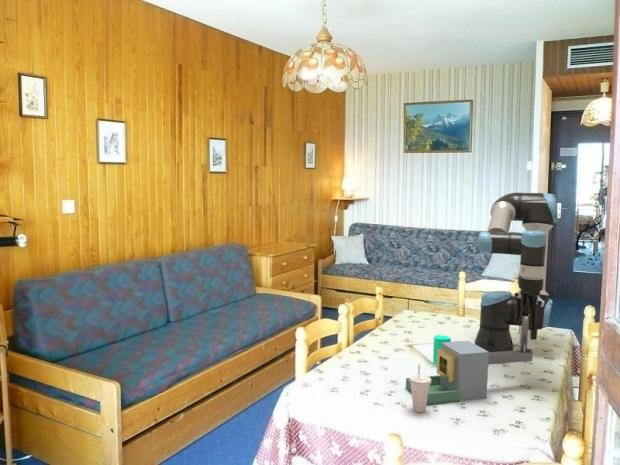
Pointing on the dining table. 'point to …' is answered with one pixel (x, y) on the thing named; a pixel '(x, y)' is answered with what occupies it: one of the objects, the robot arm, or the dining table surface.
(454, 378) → the spacer
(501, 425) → the dining table surface
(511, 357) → the l-shaped bracket
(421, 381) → the smoothie
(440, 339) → the candle
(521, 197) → the robot arm
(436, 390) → the tray
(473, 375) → the bearing block
